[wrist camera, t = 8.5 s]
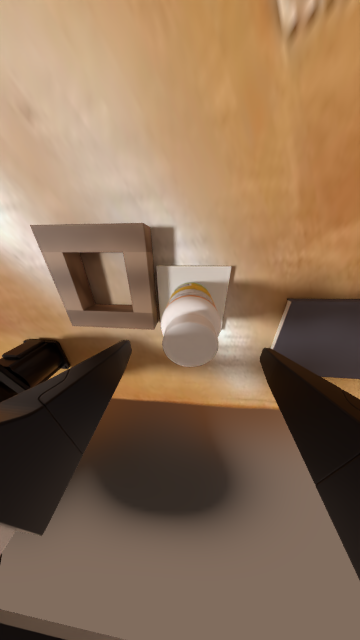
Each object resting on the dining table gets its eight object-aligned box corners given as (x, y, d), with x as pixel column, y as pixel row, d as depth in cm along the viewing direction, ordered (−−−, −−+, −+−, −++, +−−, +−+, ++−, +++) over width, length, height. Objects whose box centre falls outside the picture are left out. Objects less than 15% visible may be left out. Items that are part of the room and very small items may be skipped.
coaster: (220, 329, 20) (220, 331, 20) (161, 327, 21) (161, 328, 20) (230, 265, 16) (231, 266, 16) (157, 265, 17) (156, 265, 16)
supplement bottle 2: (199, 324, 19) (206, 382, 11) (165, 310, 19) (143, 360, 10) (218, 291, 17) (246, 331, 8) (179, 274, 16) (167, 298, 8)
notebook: (471, 299, 16) (284, 297, 18) (498, 303, 15) (292, 301, 16) (396, 373, 22) (260, 366, 24) (409, 382, 20) (264, 373, 22)
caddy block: (158, 321, 21) (154, 329, 18) (85, 318, 21) (72, 326, 19) (150, 227, 15) (142, 223, 13) (52, 228, 16) (30, 225, 14)
